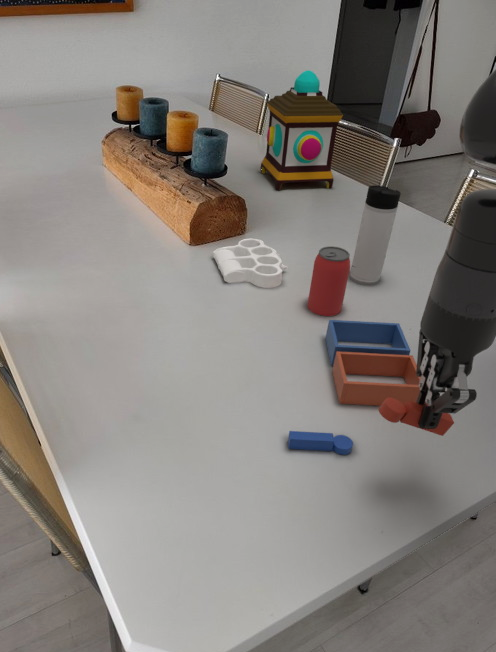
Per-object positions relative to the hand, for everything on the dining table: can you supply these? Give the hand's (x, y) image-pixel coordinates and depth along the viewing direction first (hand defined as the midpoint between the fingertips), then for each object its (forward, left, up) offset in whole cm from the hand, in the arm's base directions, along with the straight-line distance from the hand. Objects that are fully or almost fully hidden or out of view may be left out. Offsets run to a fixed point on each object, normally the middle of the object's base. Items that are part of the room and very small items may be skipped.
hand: (424, 420), depth 66 cm
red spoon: (+2, 0, 0) cm, 2 cm away
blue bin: (+1, -27, -10) cm, 29 cm away
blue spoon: (+11, -4, -10) cm, 15 cm away
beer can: (+6, -42, -10) cm, 44 cm away
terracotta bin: (+1, -18, -10) cm, 20 cm away
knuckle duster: (+20, -57, -10) cm, 61 cm away
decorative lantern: (+6, -117, -10) cm, 118 cm away
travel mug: (-4, -55, -10) cm, 56 cm away
